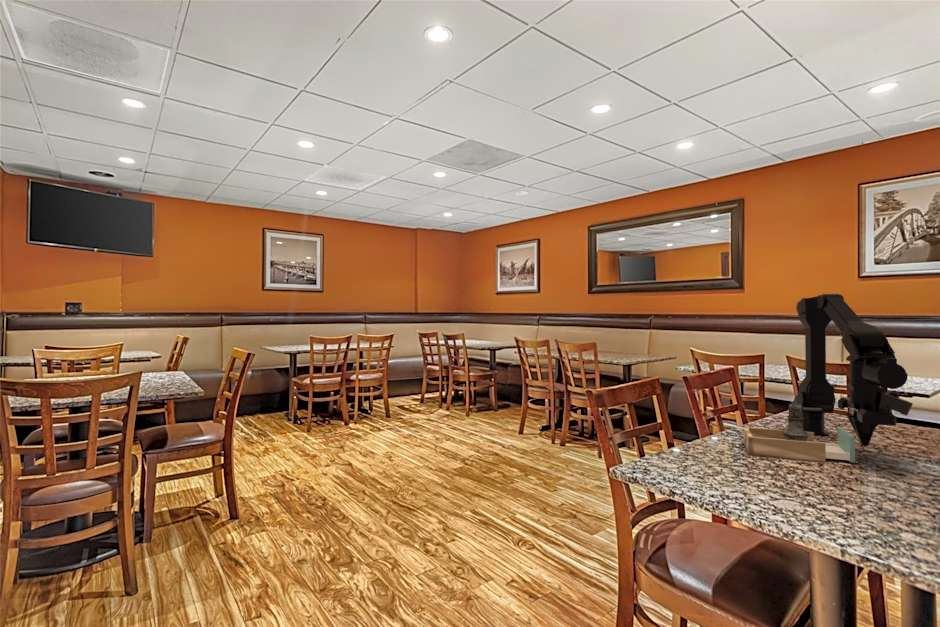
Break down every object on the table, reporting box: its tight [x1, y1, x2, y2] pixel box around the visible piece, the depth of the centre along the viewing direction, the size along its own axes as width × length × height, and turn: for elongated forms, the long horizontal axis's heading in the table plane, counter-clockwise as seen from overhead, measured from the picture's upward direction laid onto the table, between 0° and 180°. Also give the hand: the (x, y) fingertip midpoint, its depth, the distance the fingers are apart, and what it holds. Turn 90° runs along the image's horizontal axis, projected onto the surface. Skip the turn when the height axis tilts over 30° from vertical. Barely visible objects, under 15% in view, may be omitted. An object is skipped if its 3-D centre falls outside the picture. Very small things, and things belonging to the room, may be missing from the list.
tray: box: [772, 427, 856, 463], centre depth 120 cm, size 9×16×6 cm, turn 66°
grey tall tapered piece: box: [781, 399, 809, 441], centre depth 122 cm, size 6×6×12 cm
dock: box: [742, 426, 827, 463], centre depth 123 cm, size 11×16×4 cm
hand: (864, 445), depth 116 cm, fingers closed
